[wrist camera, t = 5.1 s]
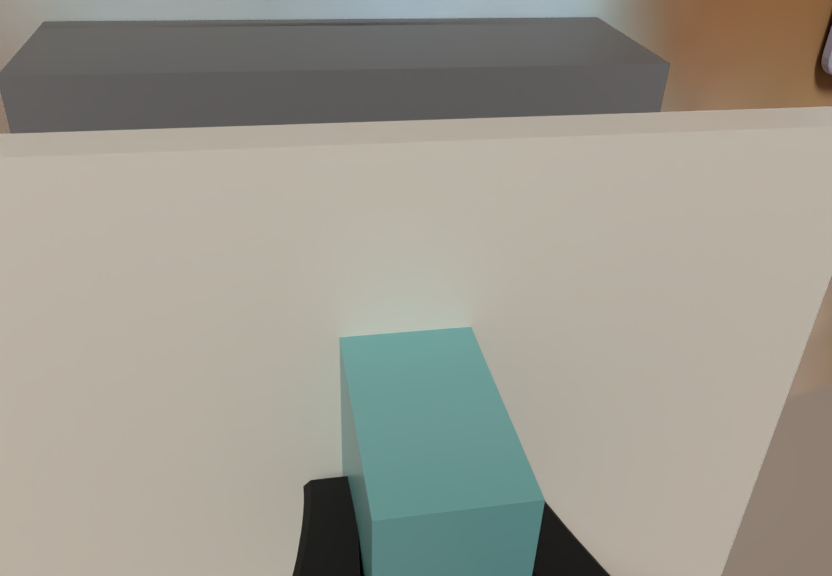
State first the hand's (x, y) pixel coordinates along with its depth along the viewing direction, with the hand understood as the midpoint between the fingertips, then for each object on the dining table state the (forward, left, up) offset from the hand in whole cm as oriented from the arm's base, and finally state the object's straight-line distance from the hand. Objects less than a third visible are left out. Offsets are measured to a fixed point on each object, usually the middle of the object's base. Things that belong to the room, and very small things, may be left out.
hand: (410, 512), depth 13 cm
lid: (0, 0, -2) cm, 2 cm away
